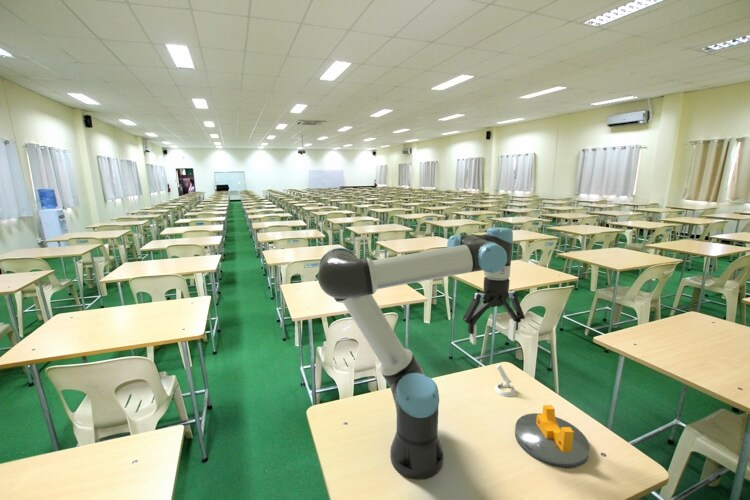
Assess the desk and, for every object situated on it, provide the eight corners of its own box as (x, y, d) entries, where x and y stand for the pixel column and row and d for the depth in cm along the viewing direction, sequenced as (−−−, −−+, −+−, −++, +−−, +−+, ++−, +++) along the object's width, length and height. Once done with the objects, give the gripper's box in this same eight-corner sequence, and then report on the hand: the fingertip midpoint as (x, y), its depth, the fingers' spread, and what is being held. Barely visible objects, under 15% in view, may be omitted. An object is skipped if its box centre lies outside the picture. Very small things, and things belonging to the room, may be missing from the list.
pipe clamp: (536, 423, 109) (537, 405, 108) (549, 423, 109) (551, 405, 108) (556, 452, 97) (558, 432, 96) (571, 451, 97) (573, 431, 96)
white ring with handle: (484, 368, 137) (500, 360, 135) (501, 396, 135) (517, 389, 133) (483, 373, 131) (499, 365, 128) (500, 403, 128) (517, 396, 126)
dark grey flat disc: (544, 474, 93) (544, 466, 92) (502, 425, 112) (502, 418, 112) (605, 461, 97) (606, 453, 96) (555, 416, 116) (555, 409, 116)
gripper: (464, 282, 100) (461, 349, 104) (540, 278, 105) (534, 343, 109) (454, 276, 107) (451, 339, 111) (525, 272, 112) (520, 333, 116)
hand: (492, 341), depth 110 cm, fingers open, 13 cm apart
